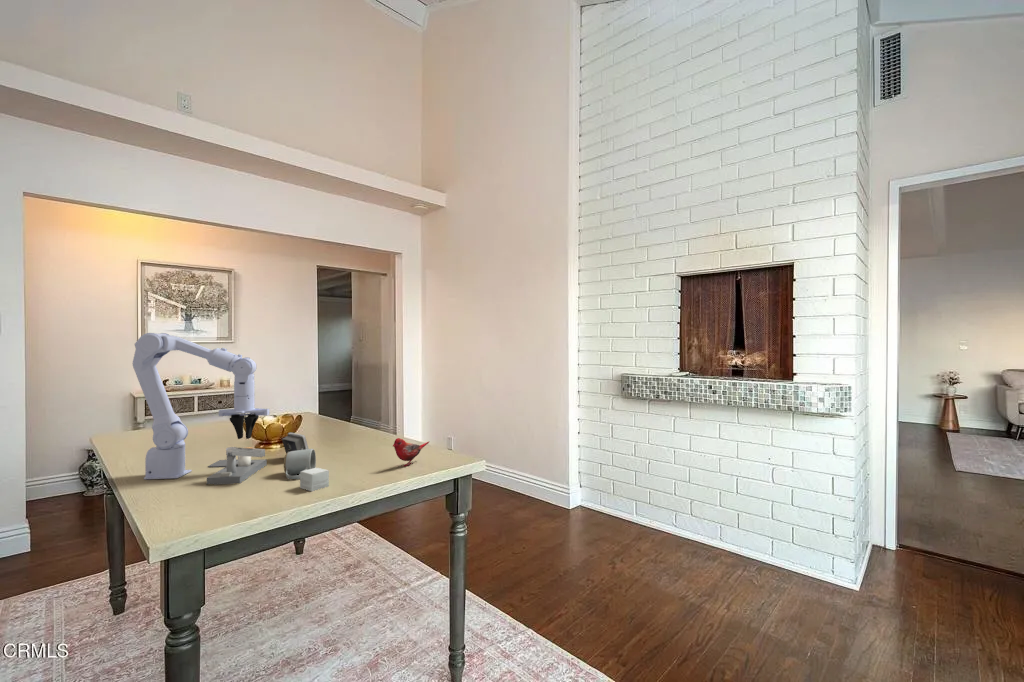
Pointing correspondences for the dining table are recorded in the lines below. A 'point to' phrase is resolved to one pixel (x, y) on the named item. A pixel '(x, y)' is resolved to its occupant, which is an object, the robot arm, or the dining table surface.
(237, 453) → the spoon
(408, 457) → the decorative bird figurine
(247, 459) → the mushroom
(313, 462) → the ceramic mug
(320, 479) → the small box
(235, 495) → the dining table surface
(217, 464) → the rubber mat
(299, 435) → the electrical switch
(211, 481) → the grey panel with tab
